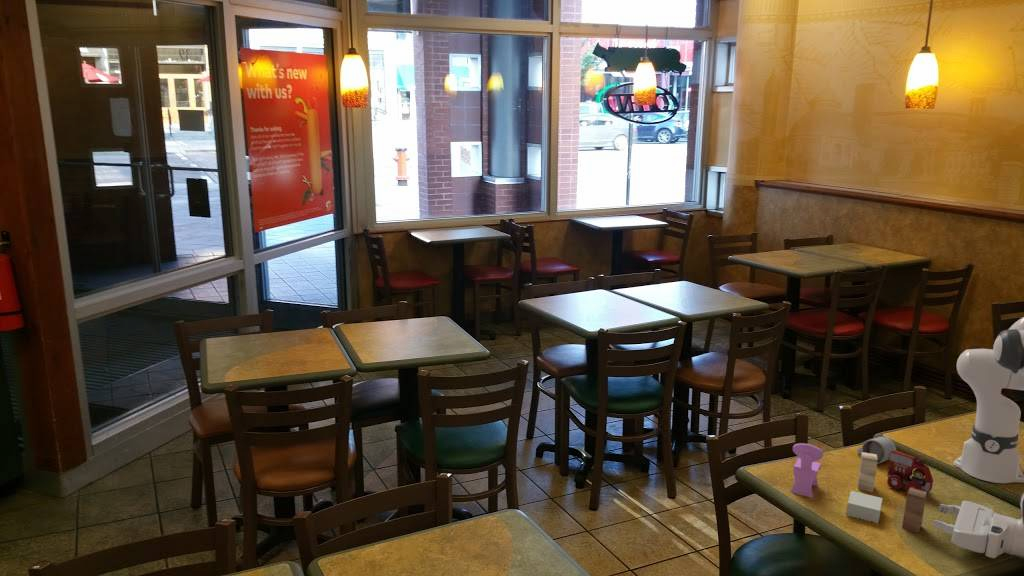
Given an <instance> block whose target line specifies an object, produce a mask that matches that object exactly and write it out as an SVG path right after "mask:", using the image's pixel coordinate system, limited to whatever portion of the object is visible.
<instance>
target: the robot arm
mask: <svg viewBox="0 0 1024 576" xmlns="http://www.w3.org/2000/svg"><path fill="white" fill-rule="evenodd" d="M993 343H994V344H993V346H992V347H993V348H990V349H989V348H971V349H970V348H969V349H965V350H964V351H963V352H961V353H960V355H959V357H958V358H957V361H956V371H957V373H958V376H959V377H960V378H961V379H962V380H963V381H964V382H965V383H967V384H968V385H969V387H970V388H971V390H972V392H973V393H974V396H975V398H976V412H975V413H976V415H975V422H974V424H973V426H972V429H971V436H970V438H969V439H967V440H966V441H964V443H963V448H962V452H961V455H960V456H959V457H957V458H956V459H955V460H954V461H953V462H952V465H953V466H954V467H957V468H958V469H960V470H962V471H963V472H964V473H966V474H967V475H969V476H970V477H974V478H976V479H979V480H980V481H981V480H982V481H986V482H989V483H996V484H1011V483H1024V473H1023V471H1022V469H1021V457H1022V456H1021V454H1020V451H1019V450H1018V449H1017V446H1018V443H1019V434H1018V431H1019V427H1020V426H1019V425H1020V421H1021V420H1020V419H1021V414H1022V412H1021V408H1020V407H1019V405H1018V404H1017V403H1016V402H1014V401H1013V400H1012V399H1010V398H1008V397H1007V396H1005V395H1003V394H1002V389H1010V390H1017V391H1018V390H1019V391H1024V316H1023V317H1021V318H1019V319H1018V320H1017V321H1015V322H1014V323H1013V324H1012V325H1011V326H1010V327H1009V328H1008V329H1004V330H1002V331H1000V332H999V333H998V334H997V336H996V339H995V340H994V342H993ZM1019 506H1020V511H1021V515H1022V516H1021V518H1015V517H1011V516H1008V515H1007V516H1006V515H1003V514H1000V513H997V512H995V511H994V510H993V509H992V508H990V507H988V506H986V505H982V504H979V503H976V502H973V501H969V500H962V501H961V505H956V504H955V505H954V504H944V503H940V504H939V506H938V511H939V513H943V514H947V513H948V514H953V515H955V516H957V517H956V521H955V524H952V523H947V522H944V521H943V519H939V518H936V517H935V519H934V520H933V523H932V526H933V527H934V528H936V529H940V530H942V531H943V532H945V533H946V534H948V535H951V538H950V539H951V543H953V544H954V545H955V546H957V547H959V548H962V549H965V550H968V551H972V552H975V553H980V554H985V555H984V556H985V557H988V558H990V559H995V558H997V557H999V556H1000V555H1003V554H1004V553H1005V554H1008V555H1013V556H1020V557H1023V558H1024V490H1023V491H1022V493H1021V494H1020V497H1019Z"/></svg>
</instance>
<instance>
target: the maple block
mask: <svg viewBox="0 0 1024 576" xmlns="http://www.w3.org/2000/svg"><path fill="white" fill-rule="evenodd" d="M877 461H878V459H877V454H870V453H864V452H862V454H860V461H859V463H860V464H859V468H858V469H859V470H858V476H857V489H858V490H861V491H865V490H866V492H871V493H874V487H875V481H876V475H877V467H878V464H877Z"/></svg>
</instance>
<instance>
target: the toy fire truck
mask: <svg viewBox="0 0 1024 576" xmlns="http://www.w3.org/2000/svg"><path fill="white" fill-rule="evenodd" d="M888 461H889V462H888V463H889V464H888V469H887V475H886V476H887V481H886V483H887V485H888V487H889V488H890V489H892V490H895V491H896V490H900V489H901V488H902V487H903V486H904V485H905V488H904V489H905V492H906V494H907V493H908V491H909V489H910V488H913V489H917V490H921V491H924V492H927V493H929V492H930V491H932V489H933V483H934V479H933V475H932V473H931V470H930V468H929V466H928V465H926V461H925V459H924V458H921V457H919V458H918V459H917V458H916V457H915V456H913V455H910V454H907V453H903V452H900V451H897V450H896V451H895V450H892V451H891V452H890V453H889V460H888Z"/></svg>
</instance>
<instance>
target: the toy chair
mask: <svg viewBox="0 0 1024 576" xmlns="http://www.w3.org/2000/svg"><path fill="white" fill-rule="evenodd" d="M792 452H793V453H794V455H796V456H797V457H798V458H797V460H796V462H795V463H794V465H793V470H792V472H793V476H794V484H793V486H792V488H791V490H790V491H789V492H790V493H793V494H797V495H800V496H805V497H809V498H813V499H814V493H813V487H812V486H814V487H819V483H818V478H817V477H818V472H819V471H820V469H821V468H822V466H821V465H822V463H821V462H816V461H819V460H821V459H822V458H823V457H824V451H823V450H822V449H821V448H819V447H817V446H816V445H813V444H809V443H803V442H801V443H795V444H794V445H793V446H792Z"/></svg>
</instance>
